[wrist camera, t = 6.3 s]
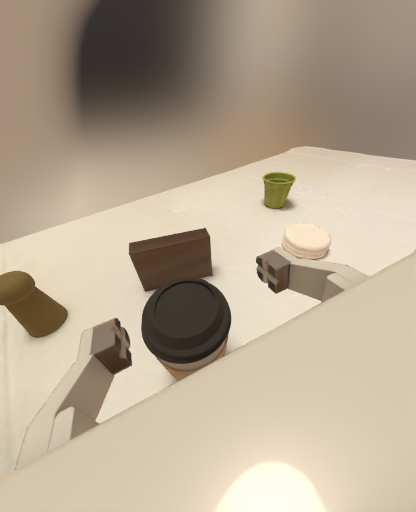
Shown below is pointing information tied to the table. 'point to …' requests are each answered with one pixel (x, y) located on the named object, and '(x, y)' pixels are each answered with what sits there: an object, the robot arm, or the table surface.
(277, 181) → the plant pot
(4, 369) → the table surface
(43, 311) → the brown oblong lump
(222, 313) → the coffee cup
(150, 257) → the walnut bookend
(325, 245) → the coaster
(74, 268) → the table surface
